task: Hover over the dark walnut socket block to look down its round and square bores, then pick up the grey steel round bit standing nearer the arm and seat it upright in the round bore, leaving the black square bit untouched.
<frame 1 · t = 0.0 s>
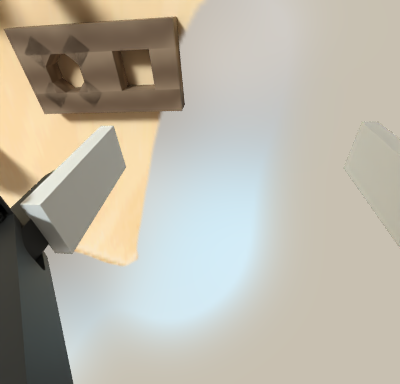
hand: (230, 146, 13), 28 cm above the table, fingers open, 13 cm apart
socket block: (107, 68, 37), on the table
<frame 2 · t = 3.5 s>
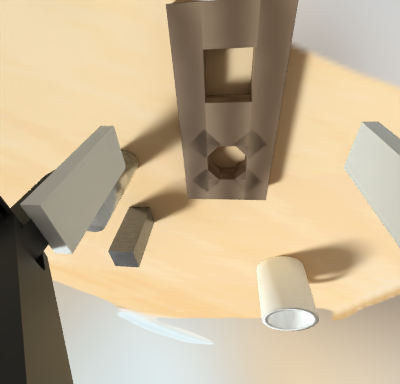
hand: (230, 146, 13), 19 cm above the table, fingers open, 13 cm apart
square bit: (142, 214, 45), on the table
socket block: (227, 116, 31), on the table
mug: (282, 271, 52), on the table
round bit: (126, 161, 37), on the table
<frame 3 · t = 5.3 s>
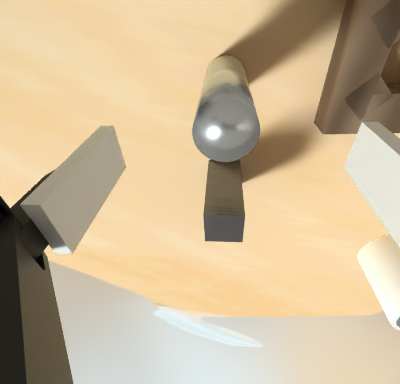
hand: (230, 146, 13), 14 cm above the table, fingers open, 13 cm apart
square bit: (223, 173, 31), on the table
mug: (393, 254, 40), on the table
round bit: (225, 77, 24), on the table
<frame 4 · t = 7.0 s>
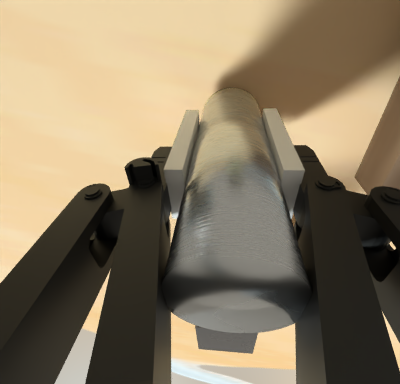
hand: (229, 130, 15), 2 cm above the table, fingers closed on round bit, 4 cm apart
square bit: (226, 231, 24), on the table
round bit: (230, 117, 16), on the table, touching gripper
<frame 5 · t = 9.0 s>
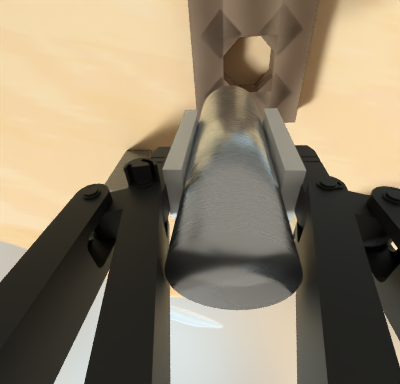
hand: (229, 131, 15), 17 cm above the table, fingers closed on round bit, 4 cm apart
square bit: (141, 161, 38), on the table
socket block: (249, 0, 24), on the table
round bit: (229, 114, 17), point 15 cm above the table, touching gripper
when the fingers open (4 cm above the table, at t = 11.2 s): round bit drops 1 cm, resting in socket block.
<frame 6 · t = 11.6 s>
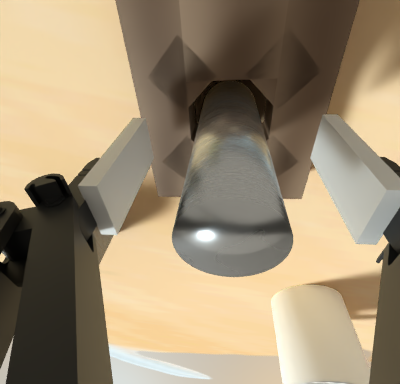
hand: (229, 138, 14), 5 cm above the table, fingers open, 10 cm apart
square bit: (93, 223, 28), on the table
socket block: (231, 18, 14), on the table
mug: (309, 303, 36), on the table
round bit: (228, 108, 18), resting in socket block
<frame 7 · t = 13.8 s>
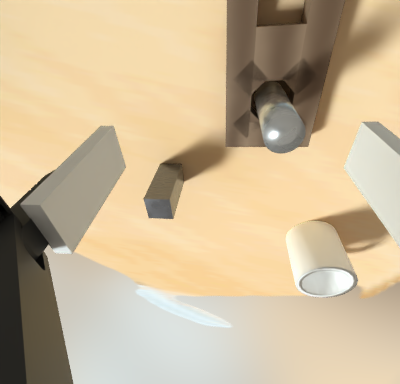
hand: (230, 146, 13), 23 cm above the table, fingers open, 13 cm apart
square bit: (172, 173, 43), on the table
socket block: (274, 51, 30), on the table
mug: (313, 239, 50), on the table
round bit: (268, 96, 33), resting in socket block
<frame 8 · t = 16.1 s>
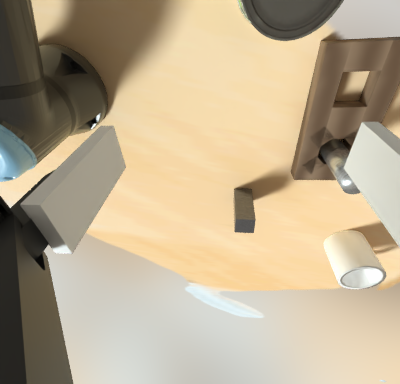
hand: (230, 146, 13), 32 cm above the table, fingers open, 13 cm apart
square bit: (242, 195, 56), on the table
socket block: (337, 117, 42), on the table
mug: (345, 244, 64), on the table
round bit: (328, 144, 46), resting in socket block
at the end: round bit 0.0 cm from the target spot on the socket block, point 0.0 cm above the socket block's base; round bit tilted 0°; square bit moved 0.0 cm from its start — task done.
